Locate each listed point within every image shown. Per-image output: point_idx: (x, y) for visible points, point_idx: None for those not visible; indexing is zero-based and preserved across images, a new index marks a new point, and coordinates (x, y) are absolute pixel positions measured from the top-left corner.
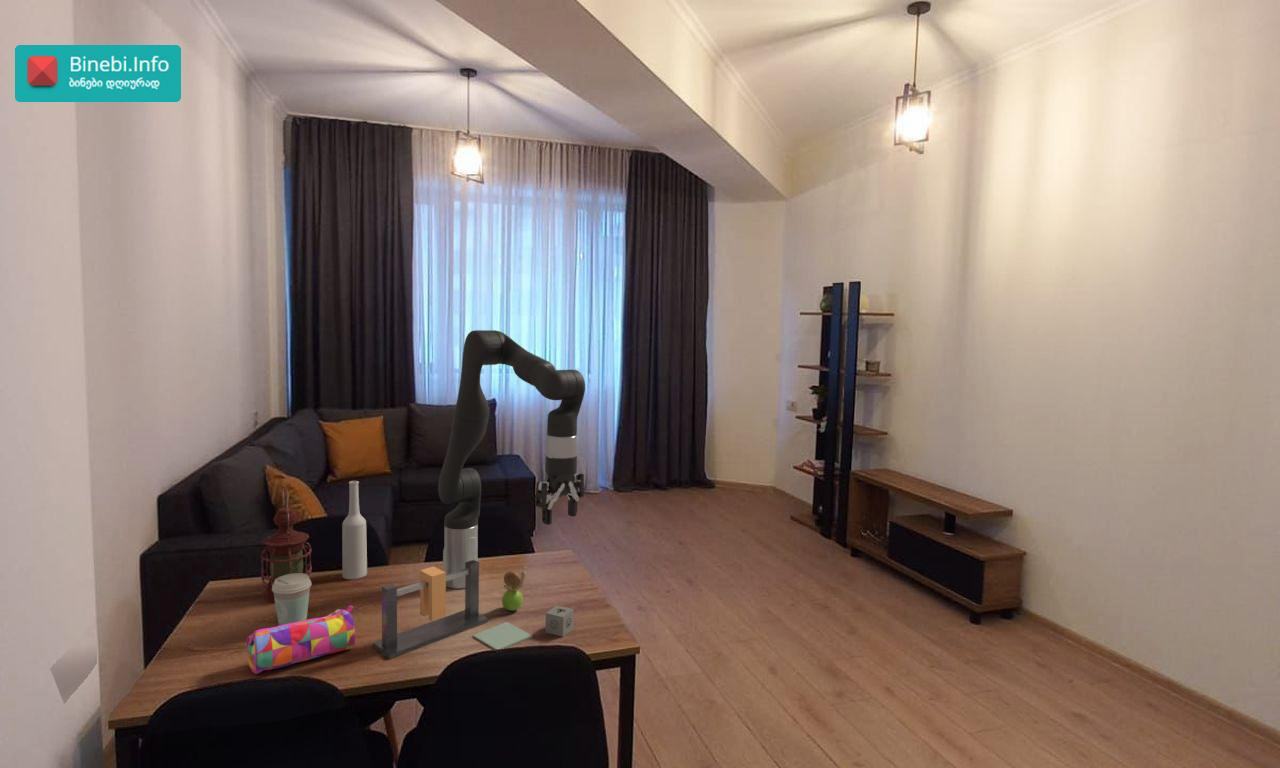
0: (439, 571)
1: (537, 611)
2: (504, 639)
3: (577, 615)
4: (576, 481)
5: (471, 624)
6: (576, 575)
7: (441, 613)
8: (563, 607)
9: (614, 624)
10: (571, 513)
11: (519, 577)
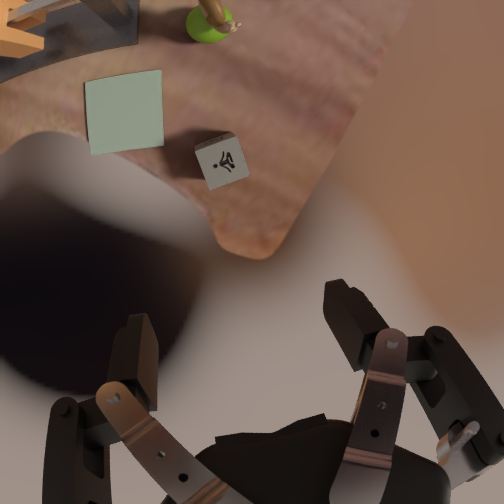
0: None
1: (240, 65)
2: (116, 128)
3: (284, 132)
4: (439, 450)
5: (99, 49)
6: (397, 22)
7: (32, 50)
8: (240, 154)
9: (303, 203)
10: (329, 308)
11: (223, 20)
